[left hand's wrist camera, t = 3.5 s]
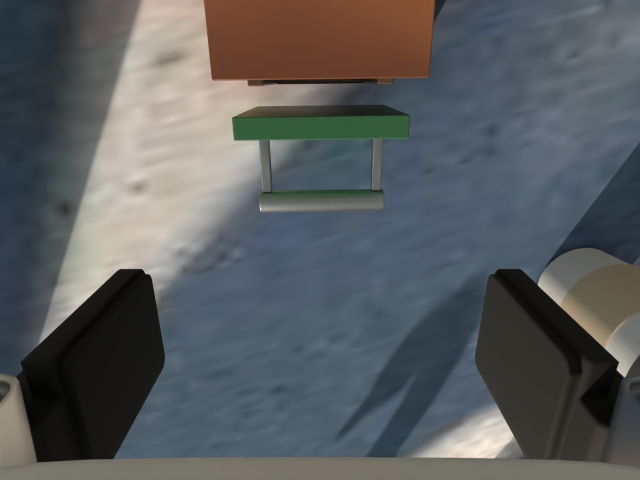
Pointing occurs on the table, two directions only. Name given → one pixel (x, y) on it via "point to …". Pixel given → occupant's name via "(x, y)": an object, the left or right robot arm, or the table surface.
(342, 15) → the cabinet
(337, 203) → the drawer
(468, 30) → the table surface
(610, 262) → the coffee cup
